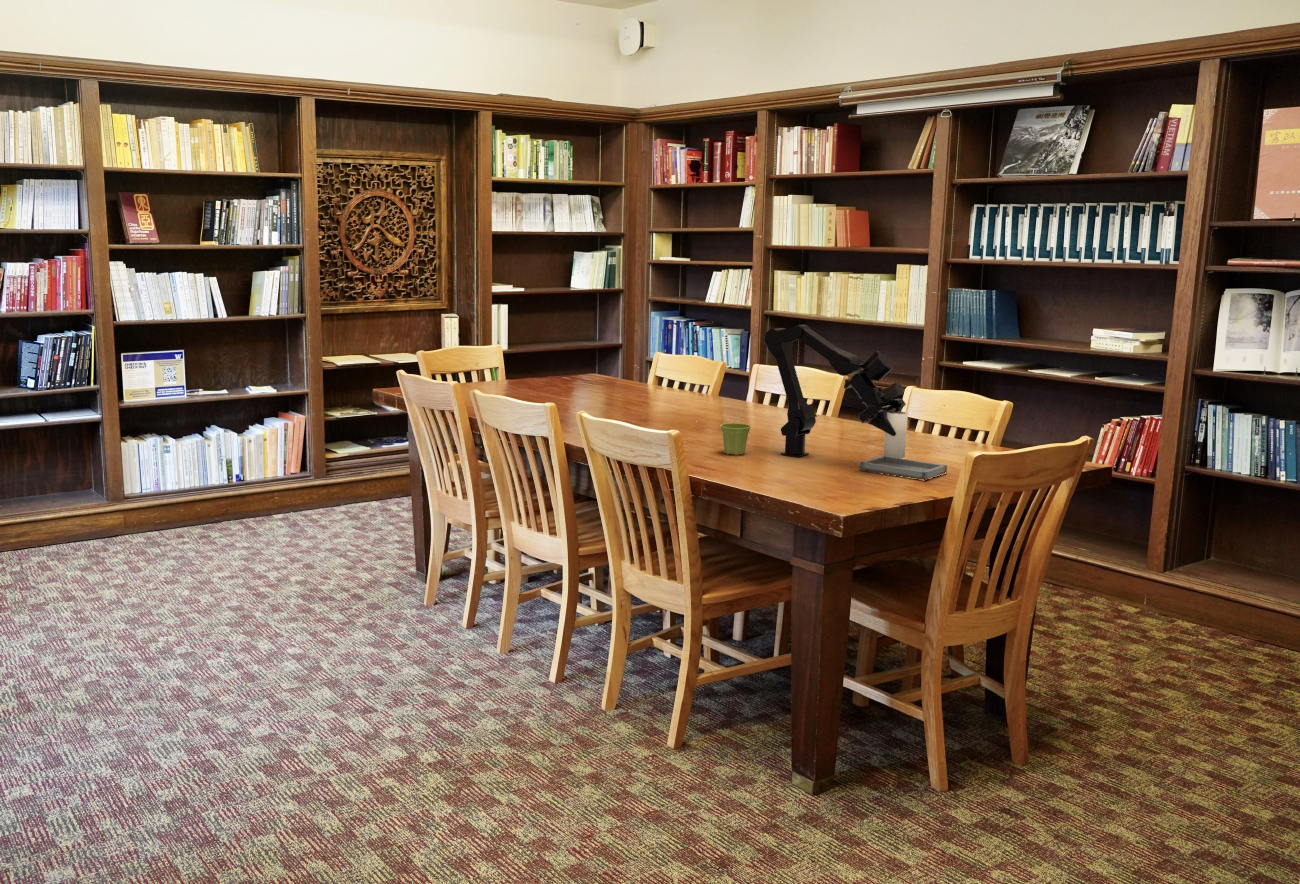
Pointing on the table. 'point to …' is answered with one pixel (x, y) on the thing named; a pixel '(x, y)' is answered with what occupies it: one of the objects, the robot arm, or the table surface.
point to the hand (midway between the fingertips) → (900, 433)
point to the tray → (903, 467)
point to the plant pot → (735, 437)
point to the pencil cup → (897, 443)
